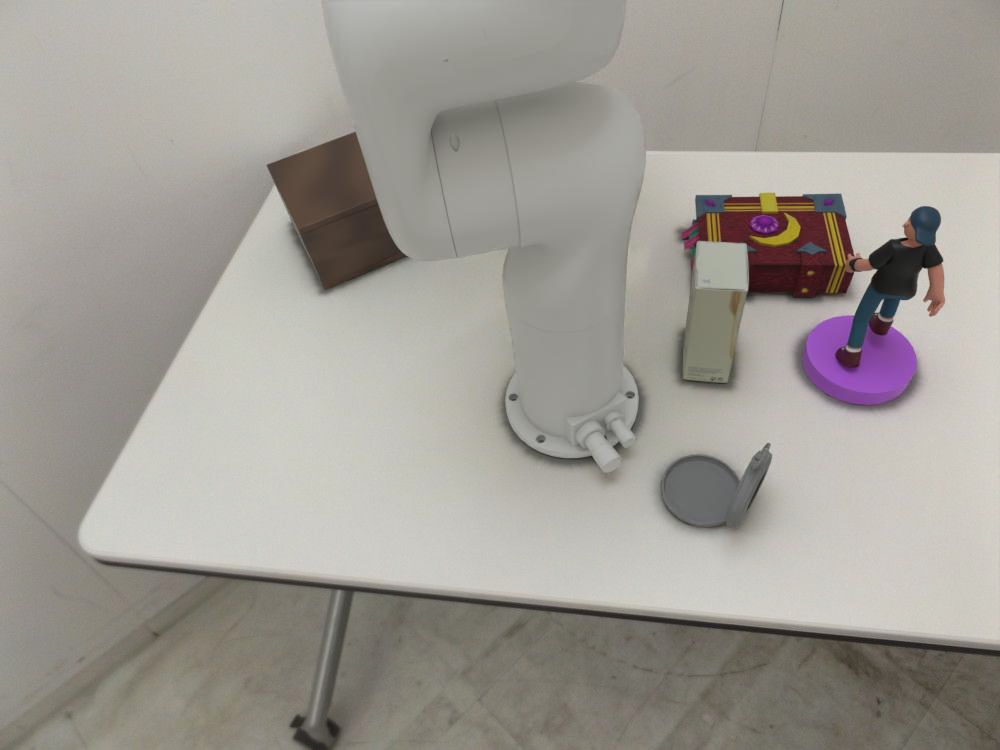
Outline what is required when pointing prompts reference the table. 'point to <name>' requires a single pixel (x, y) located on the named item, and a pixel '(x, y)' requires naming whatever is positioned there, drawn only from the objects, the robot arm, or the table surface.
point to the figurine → (878, 319)
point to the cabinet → (335, 210)
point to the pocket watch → (713, 489)
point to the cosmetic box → (715, 310)
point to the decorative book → (780, 239)
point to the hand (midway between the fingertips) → (505, 142)
